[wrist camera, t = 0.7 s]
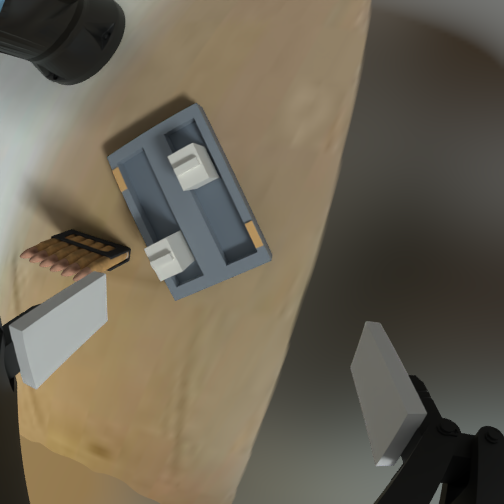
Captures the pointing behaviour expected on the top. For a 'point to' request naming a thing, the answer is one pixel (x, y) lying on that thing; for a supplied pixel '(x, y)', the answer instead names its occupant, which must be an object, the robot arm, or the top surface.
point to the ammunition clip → (77, 254)
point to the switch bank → (190, 203)
